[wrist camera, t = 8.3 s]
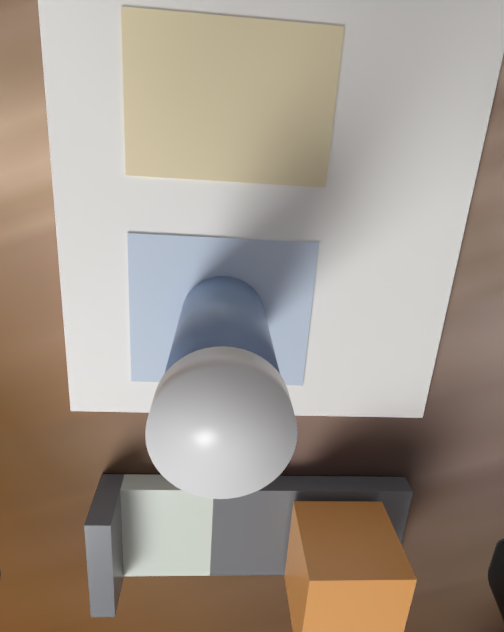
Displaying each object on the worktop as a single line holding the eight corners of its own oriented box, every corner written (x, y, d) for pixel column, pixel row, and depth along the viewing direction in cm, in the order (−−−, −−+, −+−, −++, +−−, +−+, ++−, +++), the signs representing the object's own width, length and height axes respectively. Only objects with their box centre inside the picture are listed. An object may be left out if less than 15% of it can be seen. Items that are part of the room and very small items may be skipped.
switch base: (405, 476, 22) (431, 525, 20) (387, 556, 24) (409, 612, 21) (101, 474, 21) (84, 525, 18) (106, 558, 23) (91, 617, 20)
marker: (269, 275, 18) (303, 369, 10) (264, 357, 19) (291, 499, 11) (178, 271, 18) (143, 366, 10) (178, 355, 19) (147, 498, 11)
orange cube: (382, 501, 21) (416, 579, 18) (367, 574, 23) (396, 660, 19) (293, 501, 21) (309, 580, 17) (284, 575, 22) (297, 663, 19)
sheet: (511, -9, 16) (520, -13, 15) (418, 412, 21) (423, 419, 21) (37, -55, 14) (31, -62, 14) (73, 405, 20) (70, 412, 20)
